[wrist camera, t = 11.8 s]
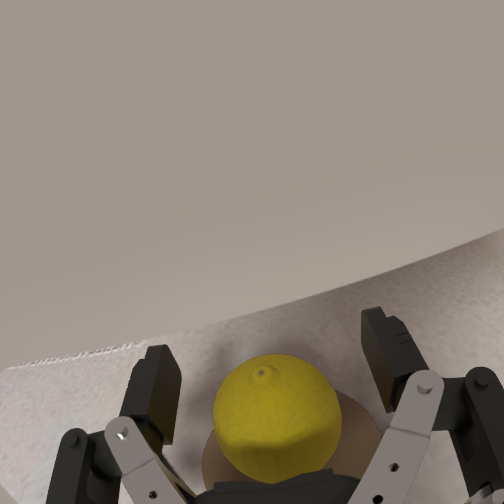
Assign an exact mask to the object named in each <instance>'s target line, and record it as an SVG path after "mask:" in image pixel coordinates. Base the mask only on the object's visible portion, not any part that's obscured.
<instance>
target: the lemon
mask: <svg viewBox="0 0 504 504" xmlns="http://www.w3.org/2000/svg"><path fill="white" fill-rule="evenodd" d="M213 422H214V430H215V435H216V438H217V441H218V443H219V445H220V447H221V449H222V451H223V453H224V455H225V456H226V458H227V459H228V460H229V461H230V462H231V463H232V464H233V465H234V466H235V467H236V469H238V470H239V471H240V472H242V473H244V474H245V475H247V476H249V477H250V478H252V479H254V480H258V481H261V482H265V483H268V484H276V483H279V482H281V481H284V480H287V479H290V478H292V477H295V476H297V475H300V474H303V473H308V472H314V471H319V470H320V469H321V468H322V467H324V466H325V465H326V463H327V462H328V461H329V459H330V458H331V456H332V455H333V454H334V452H335V450H336V447H337V444H338V442H339V439H340V436H341V424H342V414H341V410H340V406H339V402H338V399H337V396H336V393H335V391H334V390H333V388H332V386H331V385H330V383H329V382H328V380H327V379H326V377H325V376H324V375H323V374H322V373H321V372H320V371H319V370H318V369H317V368H315V367H314V366H313V365H312V364H310V363H308V362H306V361H304V360H302V359H300V358H298V357H294V356H290V355H283V354H269V355H262V356H258V357H255V358H252V359H250V360H248V361H246V362H244V363H242V364H240V365H239V366H238V367H237V368H235V369H234V370H233V371H231V372H230V373H229V375H228V376H227V377H226V378H225V379H224V381H223V382H222V384H221V386H220V388H219V390H218V392H217V394H216V397H215V402H214V407H213Z"/></svg>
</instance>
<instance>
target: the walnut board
mask: <svg viewBox="0 0 504 504" xmlns="http://www.w3.org/2000/svg"><path fill="white" fill-rule="evenodd" d="M334 391H335V390H334ZM335 393H336V396H337V399H338V402H339V406H340V410H341V414H342V424H341V436H340V439H339V442H338V444H337V447H336V450H335V452H334V454H333V455H332V456H331V458H330V459H329V461H328V462H327V463H326V465H325V466H324V467H322V468H321V469H320V470H324V469H329V468H332V469H333V474H342V475H349V476H353V477H356V478H359V479H362V477H363V475H364V474H365V472H366V470H367V468H368V466H369V464H370V462H371V460H372V458H373V456H374V454H375V452H376V450H377V448H378V446H379V444H380V442H381V436H380V433H379V430H378V427H377V425H376V424H375V422H374V420H373V418H372V417H371V416H370V414H369V413H368V412H367V411H366V410H365V409H364V408H363V407H362V406H361V405H360V404H359V403H357V402H356V401H355V400H353V399H352V398H350V397H348V396H346V395H345V394H342V393H340V392H338V391H335ZM202 472H203V479H204V483H205V486H206V489H207V491H208V490H211V489H214V482H227V481H248V482H255V483H263V484H268V483H265V482H261V481H258V480H254V479H252V478H250V477H249V476H247V475H245V474H244V473H242V472H240V471H239V470H238V469H236V467H235V466H234V465H233V464H232V463H231V462H230V461H229V460H228V459H227V458H226V456H225V455H224V453H223V451H222V449H221V447H220V445H219V443H218V441H217V438H216V435H215V430H213V431H212V433H211V435H210V437H209V439H208V441H207V443H206V446H205V449H204V454H203V459H202Z"/></svg>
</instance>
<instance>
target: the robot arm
mask: <svg viewBox="0 0 504 504" xmlns="http://www.w3.org/2000/svg"><path fill="white" fill-rule="evenodd" d="M361 343H362V348H363V351H364V354H365V356H366V359H367V362H368V364H369V367H370V369H371V372H372V375H373V377H374V380H375V383H376V385H377V388H378V391H379V393H380V396H381V399H382V402H383V404H384V407H385V410H386V413H390V412H394V411H395V414H394V416H393V419H392V421H391V423H390V425H389V426H388V428H387V429H386V431H385V433H384V436H383V438H382V440H381V442H380V444H379V446H378V448H377V450H376V452H375V454H374V456H373V458H372V460H371V462H370V464H369V466H368V468H367V470H366V472H365V474H364V475H363V477H362V479H359V478H356V477H353V476H349V475H342V474H333V469H332V468H329V469H324V470H319V471H314V472H308V473H303V474H300V475H297V476H295V477H292V478H290V479H287V480H284V481H281V482H279V483H276V484H263V483H255V482H248V481H227V482H214V489H211V490H208V491H205V492H203V493H201V494H199V495H198V496H196V495H195V494H194V492H193V491H192V490H191V489H190V488H189V487H188V486H187V485H186V484H185V483H184V481H183V480H182V479H181V477H180V476H179V475H178V473H177V472H176V470H175V469H174V468H173V466H172V465H171V464H170V462H169V461H168V459H167V458H166V456H165V455H164V454H163V452H162V448H163V445H172V443H173V436H174V429H175V422H176V415H177V408H178V401H179V395H180V388H181V382H182V376H181V371H180V368H179V366H178V364H177V362H176V360H175V358H174V357H173V355H172V353H171V351H170V349H169V347H168V346H167V345H166V344H164V345H156V346H149V347H148V349H147V352H146V355H145V359H140V360H139V361H138V362H137V364H136V365H135V366H134V368H133V370H132V373H131V376H130V380H129V383H128V388H127V390H126V393H125V397H124V400H123V404H122V407H121V411H120V415H119V417H117V418H115V419H113V420H111V421H110V422H109V423H108V425H107V426H106V428H105V430H103V431H99V432H96V433H92V434H87V433H86V432H85V431H84V430H82V429H80V428H74V429H71V430H69V431H67V432H66V433H65V434H64V436H63V437H62V439H61V442H60V446H59V450H58V453H57V457H56V461H55V465H54V469H53V473H52V477H51V481H50V486H49V490H48V495H47V499H46V504H118V499H119V491H120V483H121V480H122V483H123V485H124V486H125V488H126V490H127V492H128V494H129V495H130V497H131V499H132V501H133V502H134V504H403V502H404V500H405V498H406V496H407V494H408V492H409V490H410V487H411V485H412V483H413V481H414V478H415V476H416V474H417V471H418V469H419V466H420V464H421V461H422V459H423V456H424V454H425V451H426V448H427V445H428V443H429V439H430V437H429V436H430V433H431V431H441V430H448V431H449V434H450V437H451V439H452V442H453V445H454V448H455V451H456V454H457V457H458V460H459V464H460V467H461V470H462V473H463V477H464V480H465V483H466V487H467V490H468V494H469V499H468V500H467V501H466V502H465V503H464V504H504V389H503V387H502V385H501V383H500V381H499V379H498V378H497V376H496V374H495V373H494V372H493V371H492V370H491V369H489V368H486V367H475V368H473V369H471V370H470V371H469V372H468V373H467V375H466V377H462V378H442V377H441V376H440V375H439V374H437V373H436V372H434V371H431V370H430V369H429V368H428V366H427V364H426V362H425V361H424V359H423V357H422V355H421V353H420V351H419V349H418V348H417V346H416V344H415V342H414V341H413V339H412V337H411V335H410V334H409V331H408V330H407V328H406V326H405V324H404V323H403V322H402V321H401V320H399V319H398V318H397V317H395V316H390V317H386V316H385V314H384V312H383V310H382V308H381V307H380V306H378V307H374V308H370V309H366V310H362V313H361ZM121 475H123V476H121Z"/></svg>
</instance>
